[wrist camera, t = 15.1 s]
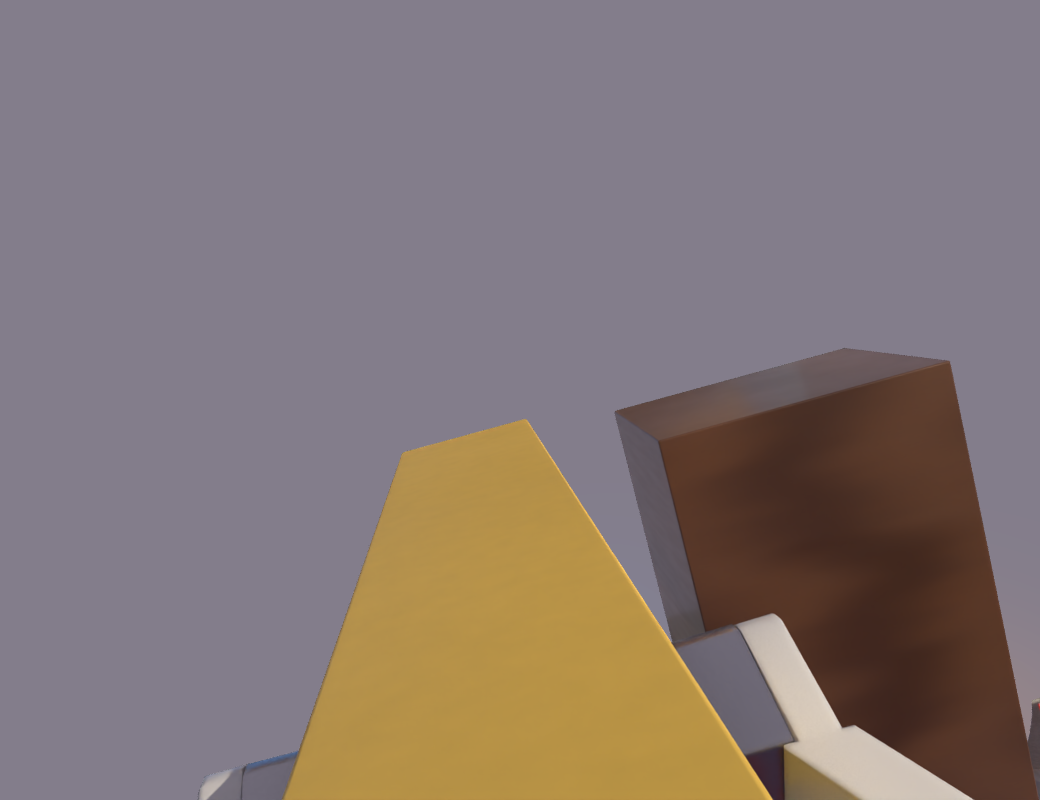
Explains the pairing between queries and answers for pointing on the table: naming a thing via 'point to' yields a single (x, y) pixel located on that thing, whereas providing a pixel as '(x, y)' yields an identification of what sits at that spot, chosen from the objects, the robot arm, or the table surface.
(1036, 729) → the white paper box
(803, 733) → the robot arm
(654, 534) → the stand
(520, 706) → the cheese bar
